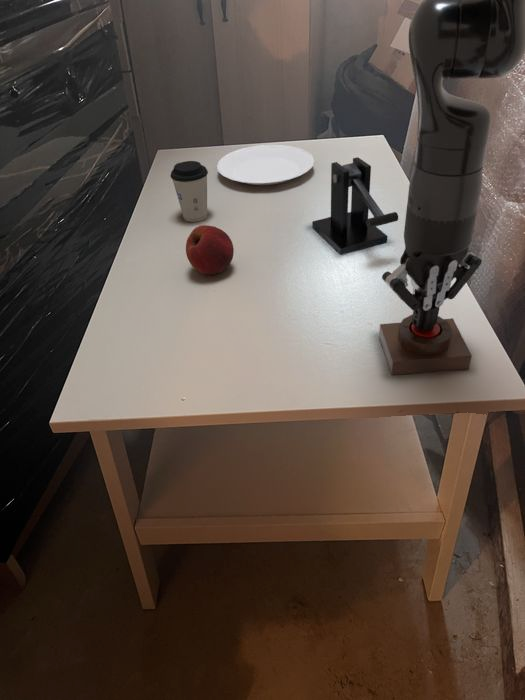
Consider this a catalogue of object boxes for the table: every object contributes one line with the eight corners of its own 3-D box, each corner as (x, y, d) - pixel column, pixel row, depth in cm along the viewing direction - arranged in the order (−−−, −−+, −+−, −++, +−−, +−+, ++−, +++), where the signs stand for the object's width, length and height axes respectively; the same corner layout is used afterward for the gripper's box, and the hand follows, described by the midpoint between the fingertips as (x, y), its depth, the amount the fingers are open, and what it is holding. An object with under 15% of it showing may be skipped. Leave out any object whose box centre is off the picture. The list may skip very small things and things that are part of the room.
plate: (215, 159, 135) (214, 149, 133) (305, 150, 136) (305, 140, 134) (220, 198, 119) (219, 187, 117) (323, 187, 120) (323, 176, 118)
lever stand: (387, 242, 101) (393, 170, 93) (340, 254, 99) (342, 182, 91) (355, 216, 109) (358, 148, 101) (312, 227, 107) (311, 158, 99)
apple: (185, 264, 99) (177, 221, 94) (229, 254, 101) (224, 212, 96) (194, 286, 94) (187, 242, 89) (240, 276, 95) (236, 232, 90)
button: (434, 328, 78) (435, 318, 77) (441, 345, 75) (443, 334, 74) (407, 330, 78) (408, 320, 77) (413, 347, 75) (415, 337, 74)
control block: (450, 330, 81) (454, 307, 79) (469, 368, 75) (474, 344, 72) (378, 336, 81) (380, 313, 79) (391, 375, 75) (393, 351, 72)
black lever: (396, 225, 93) (400, 213, 91) (368, 232, 91) (371, 221, 89) (358, 172, 99) (361, 160, 97) (332, 178, 98) (334, 166, 96)
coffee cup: (217, 208, 115) (211, 158, 109) (208, 225, 110) (201, 174, 103) (183, 207, 116) (175, 158, 110) (172, 224, 111) (163, 173, 105)
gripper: (409, 230, 60) (394, 359, 71) (514, 203, 63) (485, 330, 74) (372, 202, 65) (363, 325, 76) (470, 178, 69) (449, 300, 80)
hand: (423, 327), depth 75 cm, fingers closed
